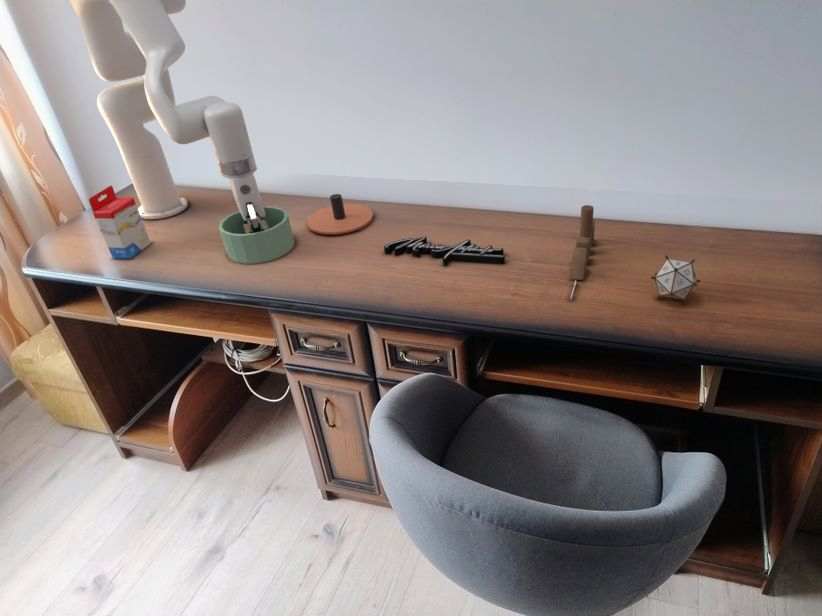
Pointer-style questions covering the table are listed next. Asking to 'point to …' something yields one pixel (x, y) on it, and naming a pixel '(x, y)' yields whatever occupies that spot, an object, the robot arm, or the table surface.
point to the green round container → (257, 237)
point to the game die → (675, 279)
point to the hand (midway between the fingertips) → (257, 238)
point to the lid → (339, 217)
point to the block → (261, 223)
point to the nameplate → (447, 251)
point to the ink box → (119, 224)
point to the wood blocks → (583, 244)
